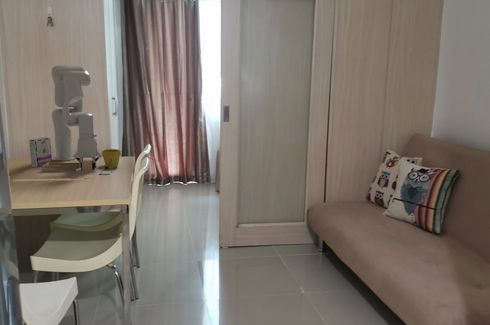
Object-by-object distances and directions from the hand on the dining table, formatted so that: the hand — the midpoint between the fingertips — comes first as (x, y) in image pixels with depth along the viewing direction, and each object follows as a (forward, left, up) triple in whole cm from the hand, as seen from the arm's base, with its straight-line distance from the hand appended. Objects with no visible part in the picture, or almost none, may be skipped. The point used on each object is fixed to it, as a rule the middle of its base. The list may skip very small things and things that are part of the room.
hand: (88, 169), depth 240 cm
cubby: (0, -14, 0) cm, 14 cm away
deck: (-1, -10, -1) cm, 10 cm away
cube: (+1, 0, 0) cm, 1 cm away
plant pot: (-12, +11, -2) cm, 16 cm away
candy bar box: (-14, -28, -2) cm, 32 cm away
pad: (+5, +9, -1) cm, 10 cm away
